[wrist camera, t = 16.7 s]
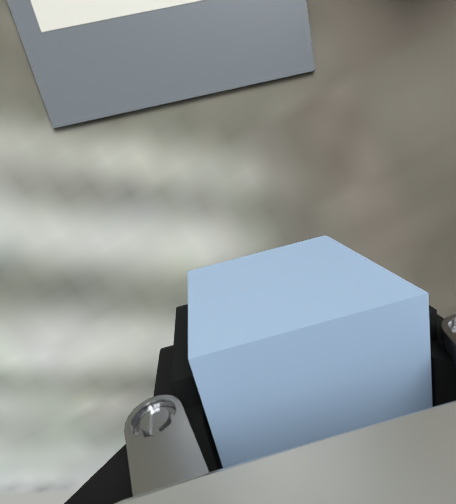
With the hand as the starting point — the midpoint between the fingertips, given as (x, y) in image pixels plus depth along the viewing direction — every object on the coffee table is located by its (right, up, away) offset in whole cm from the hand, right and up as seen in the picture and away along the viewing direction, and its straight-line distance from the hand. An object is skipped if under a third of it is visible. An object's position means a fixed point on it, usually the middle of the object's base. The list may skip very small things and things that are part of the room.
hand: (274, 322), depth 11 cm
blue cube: (0, 0, +1) cm, 1 cm away
